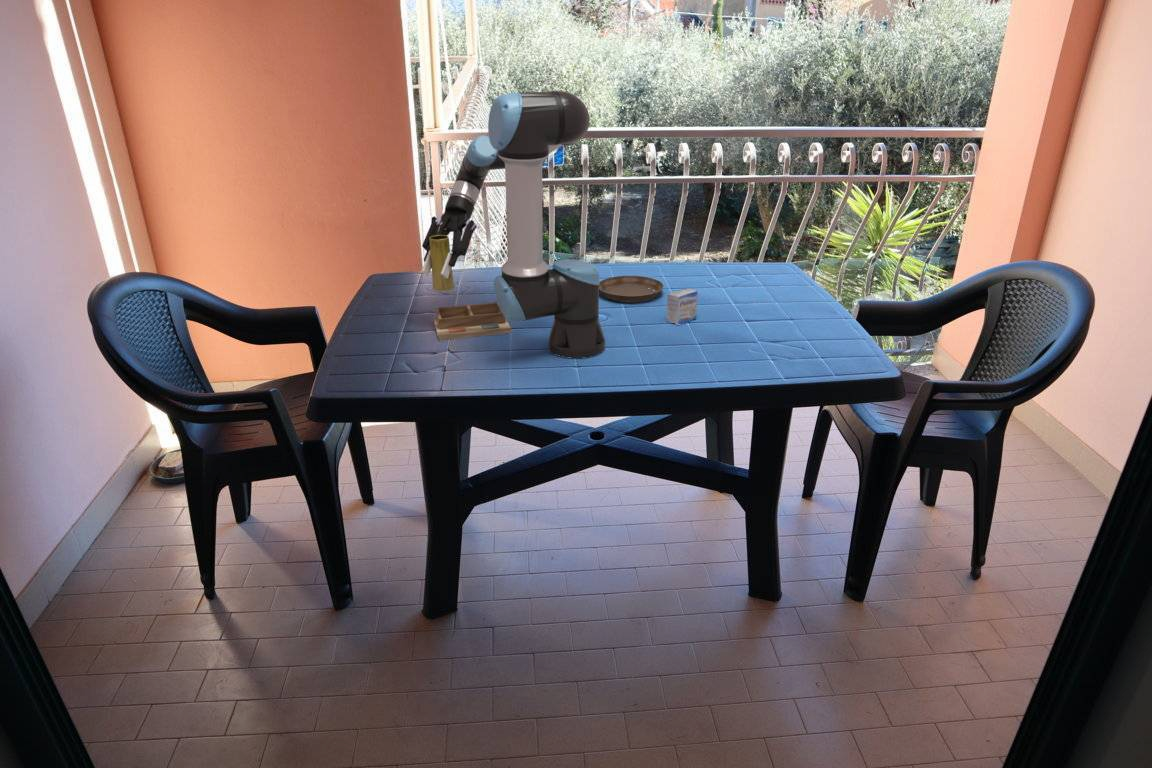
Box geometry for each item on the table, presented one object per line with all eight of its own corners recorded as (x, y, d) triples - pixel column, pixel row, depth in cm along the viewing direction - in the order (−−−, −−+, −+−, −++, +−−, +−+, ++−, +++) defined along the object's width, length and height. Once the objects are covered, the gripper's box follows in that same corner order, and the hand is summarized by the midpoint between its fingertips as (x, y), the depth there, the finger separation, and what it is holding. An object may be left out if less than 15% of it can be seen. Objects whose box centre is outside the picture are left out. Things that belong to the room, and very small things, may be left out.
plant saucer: (597, 284, 257) (597, 274, 255) (661, 284, 256) (661, 274, 254) (596, 305, 238) (596, 295, 237) (665, 306, 237) (665, 295, 236)
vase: (455, 283, 220) (451, 233, 214) (453, 290, 215) (449, 239, 209) (433, 284, 220) (428, 234, 214) (431, 291, 215) (426, 240, 209)
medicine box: (677, 326, 222) (678, 297, 218) (666, 321, 225) (667, 293, 221) (696, 319, 226) (698, 291, 223) (685, 315, 229) (686, 287, 226)
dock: (511, 332, 218) (510, 317, 216) (438, 340, 214) (437, 324, 212) (502, 315, 230) (501, 301, 228) (434, 322, 226) (432, 307, 224)
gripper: (496, 211, 219) (469, 285, 212) (440, 206, 226) (412, 277, 219) (485, 196, 212) (457, 271, 206) (427, 191, 219) (399, 264, 213)
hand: (434, 274), depth 212 cm, fingers closed on vase, 5 cm apart
